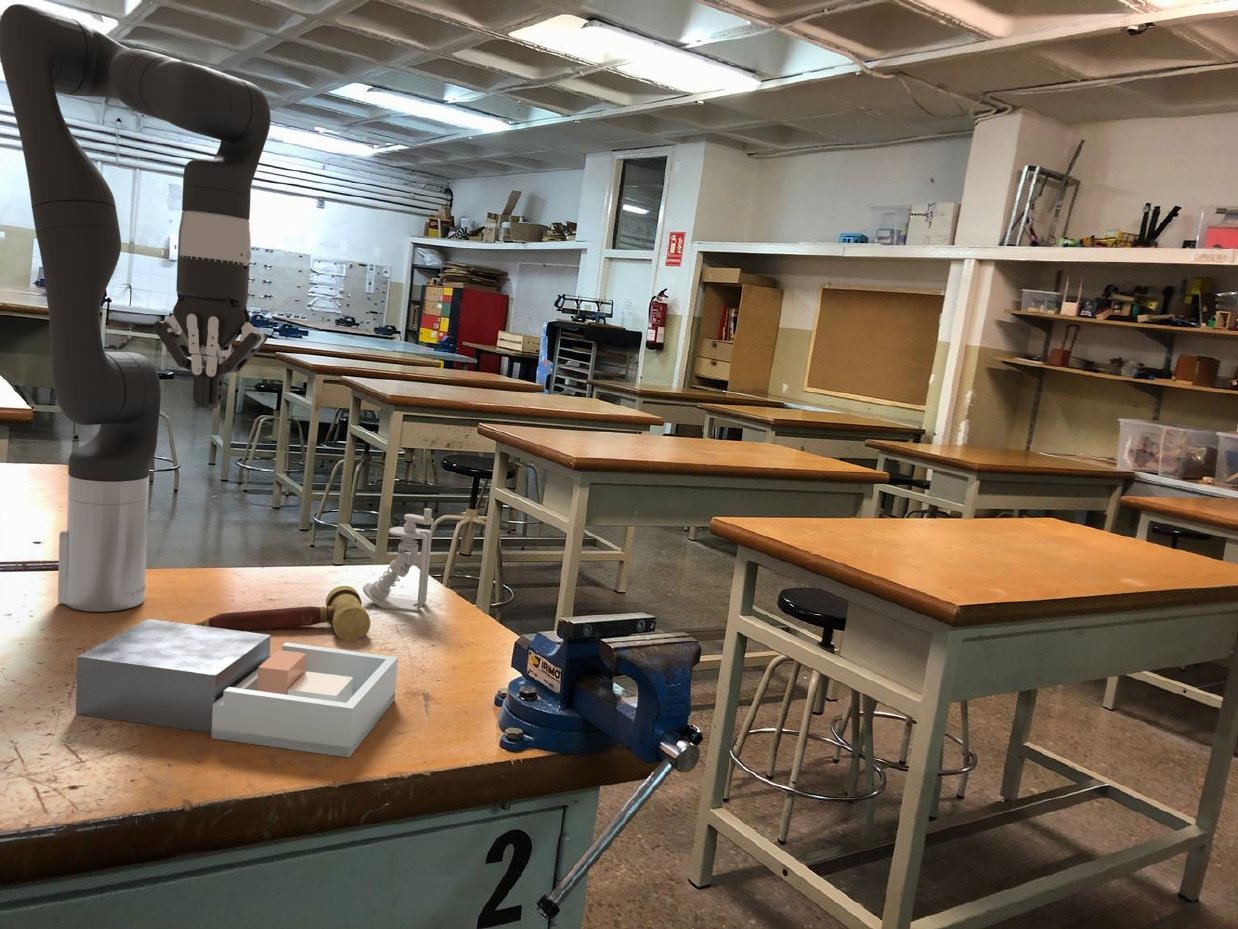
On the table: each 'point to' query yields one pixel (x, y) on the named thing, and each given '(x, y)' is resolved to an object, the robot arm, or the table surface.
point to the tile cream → (323, 687)
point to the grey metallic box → (166, 673)
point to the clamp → (405, 565)
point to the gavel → (303, 616)
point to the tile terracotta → (281, 671)
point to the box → (310, 705)
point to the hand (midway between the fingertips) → (207, 407)
